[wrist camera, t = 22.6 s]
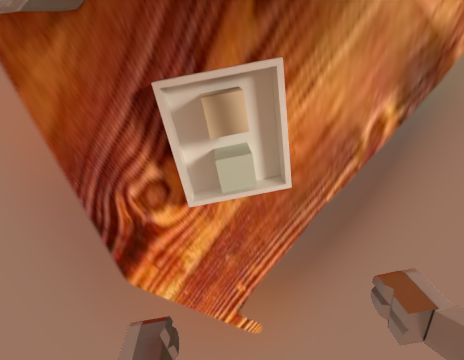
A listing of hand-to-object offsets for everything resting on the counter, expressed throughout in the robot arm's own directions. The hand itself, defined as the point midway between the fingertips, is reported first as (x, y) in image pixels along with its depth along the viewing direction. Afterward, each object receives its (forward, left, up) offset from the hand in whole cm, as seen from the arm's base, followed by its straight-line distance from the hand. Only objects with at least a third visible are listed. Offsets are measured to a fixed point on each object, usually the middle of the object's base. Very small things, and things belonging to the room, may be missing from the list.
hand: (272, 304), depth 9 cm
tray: (0, +1, -29) cm, 29 cm away
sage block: (0, +5, -28) cm, 29 cm away
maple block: (0, -3, -28) cm, 28 cm away
